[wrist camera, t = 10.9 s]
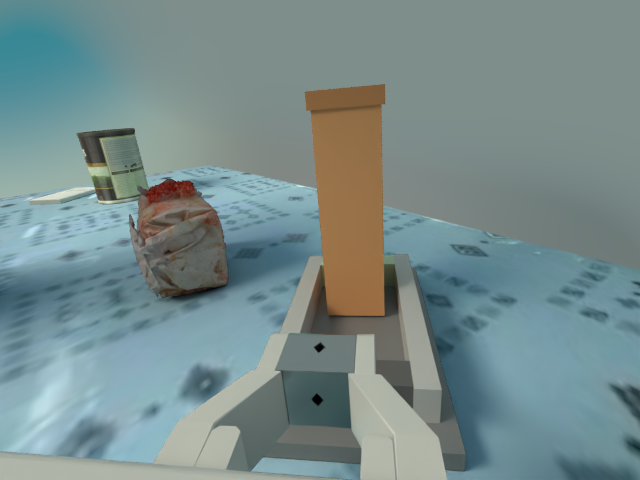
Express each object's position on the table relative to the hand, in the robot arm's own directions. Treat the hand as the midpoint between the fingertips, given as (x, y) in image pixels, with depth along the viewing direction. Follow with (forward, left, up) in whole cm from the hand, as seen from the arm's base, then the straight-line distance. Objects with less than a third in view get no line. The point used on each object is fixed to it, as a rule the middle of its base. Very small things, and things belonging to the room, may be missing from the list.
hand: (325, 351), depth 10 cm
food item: (-28, -4, -9) cm, 30 cm away
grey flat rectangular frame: (-10, +6, -8) cm, 15 cm away
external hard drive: (-89, -28, -9) cm, 94 cm away
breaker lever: (-13, +7, -7) cm, 16 cm away
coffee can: (-77, -15, -9) cm, 79 cm away
